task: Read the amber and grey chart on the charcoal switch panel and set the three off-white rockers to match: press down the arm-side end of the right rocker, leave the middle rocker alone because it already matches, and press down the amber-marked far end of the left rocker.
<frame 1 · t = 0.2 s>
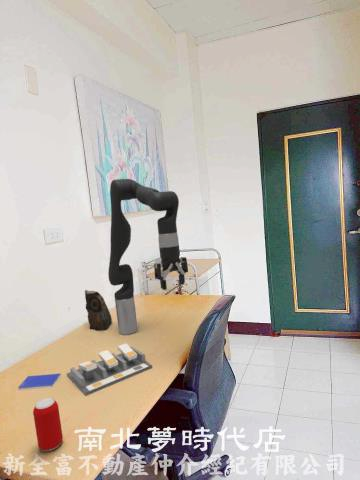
hand: (173, 286, 131), 29 cm above the table, tool pointing down, fingers open, 8 cm apart
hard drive: (40, 384, 127), on the table
rocker 2: (127, 352, 133), point 5 cm above the table, hinge at 12.0°
rocker middle: (108, 359, 129), point 5 cm above the table, hinge at 12.0°
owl: (102, 327, 181), on the table
beverage can: (51, 446, 91), on the table
switch unit: (109, 371, 129), on the table
rocker 1: (87, 366, 124), point 5 cm above the table, hinge at -12.0°
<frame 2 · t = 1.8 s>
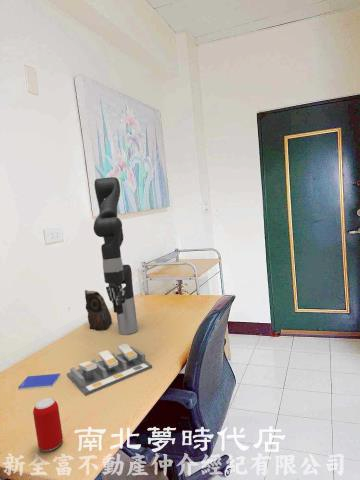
hand: (118, 312, 135), 20 cm above the table, tool pointing down, fingers closed
nothing on the table moved.
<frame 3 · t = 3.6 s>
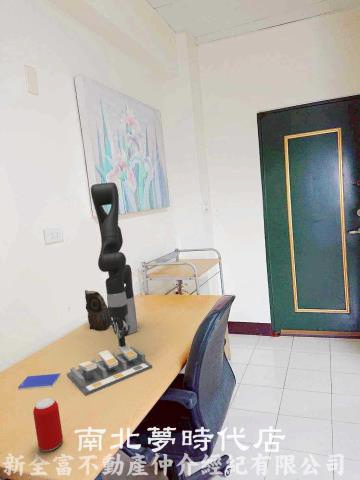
hand: (122, 345, 136), 7 cm above the table, tool pointing down, fingers closed
rocker 2: (127, 352, 133), point 5 cm above the table, hinge at 11.8°, touching gripper
everything else where it was.
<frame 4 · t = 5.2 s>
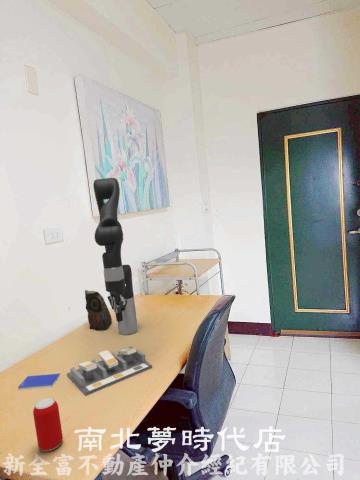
hand: (119, 321, 135), 17 cm above the table, tool pointing down, fingers closed
rocker 2: (126, 351, 134), point 5 cm above the table, hinge at -16.4°
everything else where it was.
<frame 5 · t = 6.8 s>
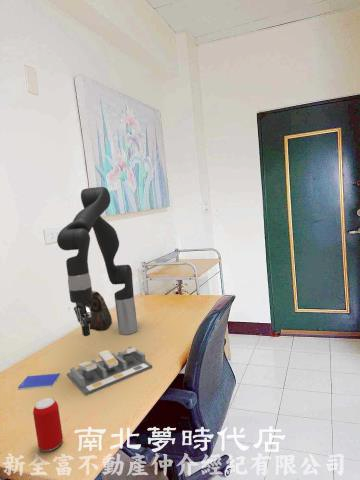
hand: (86, 335, 120), 18 cm above the table, tool pointing down, fingers closed
rocker 2: (126, 351, 134), point 5 cm above the table, hinge at -22.5°
everything else where it was.
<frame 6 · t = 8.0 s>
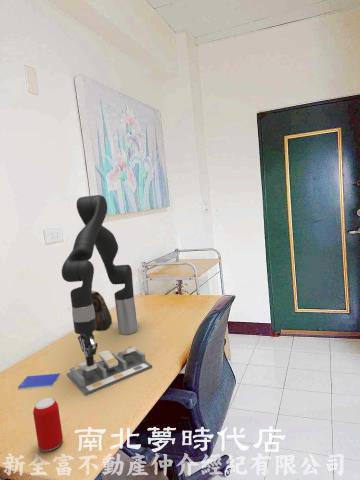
hand: (90, 365, 121), 7 cm above the table, tool pointing down, fingers closed
rocker 2: (126, 351, 134), point 5 cm above the table, hinge at -23.7°
rocker 1: (87, 366, 124), point 5 cm above the table, hinge at -11.9°, touching gripper
everything else where it was.
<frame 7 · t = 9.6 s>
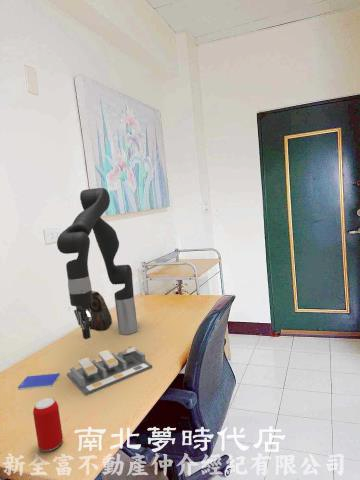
hand: (87, 338, 120), 17 cm above the table, tool pointing down, fingers closed
rocker 2: (126, 351, 134), point 5 cm above the table, hinge at -24.2°
rocker 1: (87, 366, 124), point 5 cm above the table, hinge at 9.5°
everything else where it was.
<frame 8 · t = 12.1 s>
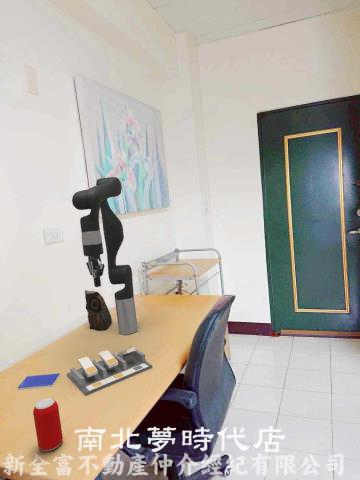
hand: (97, 286, 135), 31 cm above the table, tool pointing down, fingers closed
rocker 1: (87, 366, 124), point 5 cm above the table, hinge at 16.5°
everything else where it was.
at the end: rocker 2 at -24° (first picture: +12°); rocker middle at +12° (first picture: +12°); rocker 1 at +17° (first picture: -12°) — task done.
